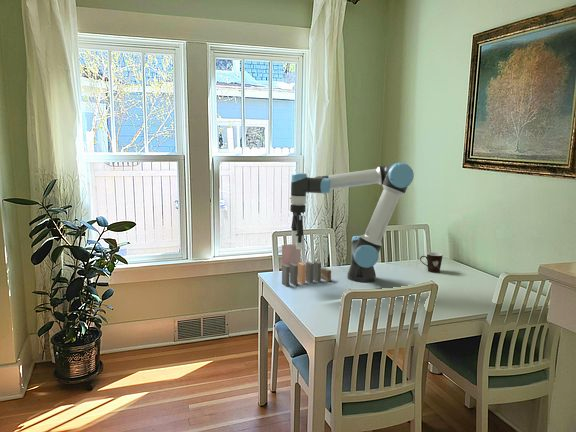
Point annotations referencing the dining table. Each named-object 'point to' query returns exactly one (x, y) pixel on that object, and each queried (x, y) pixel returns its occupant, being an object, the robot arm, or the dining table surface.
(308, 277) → the domino
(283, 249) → the greeting card
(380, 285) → the dining table surface
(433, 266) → the coffee mug
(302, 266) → the orange rectangular block
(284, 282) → the domino
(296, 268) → the domino
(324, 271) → the block
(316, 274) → the domino
